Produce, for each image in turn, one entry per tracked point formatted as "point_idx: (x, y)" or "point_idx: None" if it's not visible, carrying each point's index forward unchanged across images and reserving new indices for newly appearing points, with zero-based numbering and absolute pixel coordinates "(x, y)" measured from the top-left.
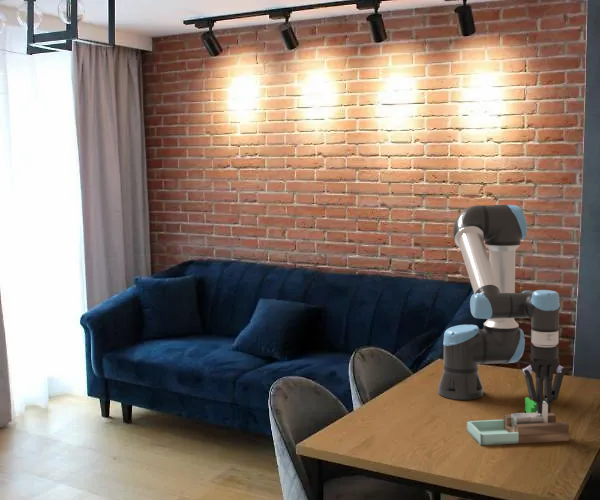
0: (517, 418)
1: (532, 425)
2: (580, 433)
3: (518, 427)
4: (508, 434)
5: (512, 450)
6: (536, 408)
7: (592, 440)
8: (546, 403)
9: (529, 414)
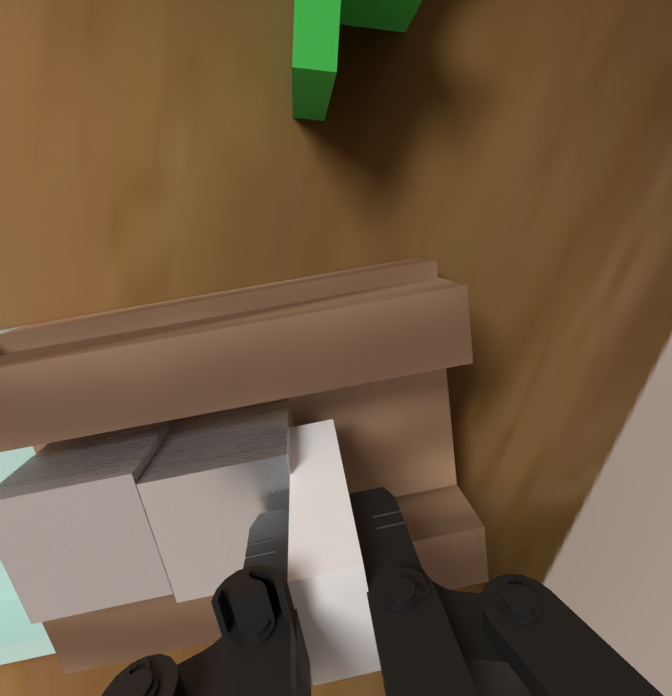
0: (46, 615)
1: (195, 627)
2: (564, 384)
3: (72, 669)
4: (17, 655)
5: (78, 677)
6: (248, 556)
7: (577, 496)
8: (366, 663)
9: (180, 523)
